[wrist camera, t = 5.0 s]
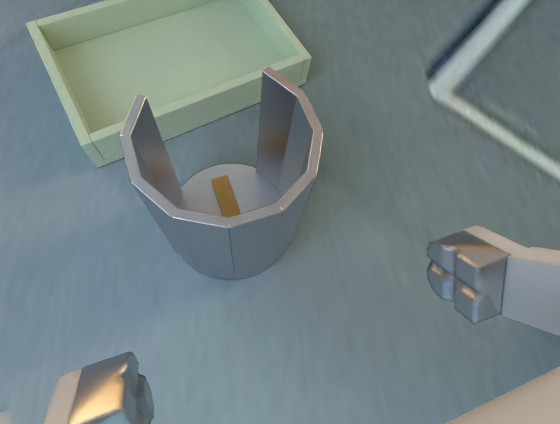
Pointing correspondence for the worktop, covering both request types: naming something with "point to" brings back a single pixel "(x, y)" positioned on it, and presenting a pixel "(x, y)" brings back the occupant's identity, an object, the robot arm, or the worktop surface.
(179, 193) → the steel cup
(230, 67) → the tray
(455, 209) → the worktop surface
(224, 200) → the key
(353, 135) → the worktop surface
